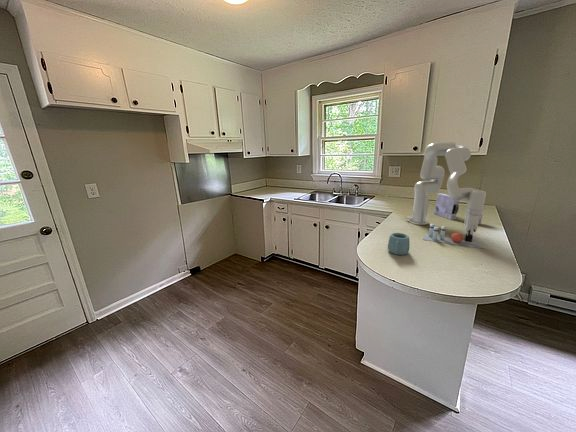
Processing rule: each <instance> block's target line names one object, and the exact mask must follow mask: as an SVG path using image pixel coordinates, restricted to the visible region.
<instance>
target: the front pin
mask: <svg viewBox="0 0 576 432" xmlns="http://www.w3.org/2000/svg"><path fill="white" fill-rule="evenodd" d="M440 228H441V229H440V233H439V237H440V240H444V237H446V236H445V235H446V231H447V226H443V225H442V226H441V227H440Z"/></svg>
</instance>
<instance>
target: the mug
mask: <svg viewBox="0 0 576 432" xmlns="http://www.w3.org/2000/svg"><path fill="white" fill-rule="evenodd" d="M387 250H388V251H389V252H390V253H391V254H394V255H396V256H397V255H398V256H404V255H407V254H409V253H410V252H409V251H410V237H409V235H407V234H405V233H401V232H394V233H393V232H392V233H391V234H390V235H389V237H388V242H387Z"/></svg>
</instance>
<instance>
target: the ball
mask: <svg viewBox="0 0 576 432" xmlns="http://www.w3.org/2000/svg"><path fill="white" fill-rule="evenodd" d="M450 238H451V239H452V241H454V242H457V243H458V242H461V241H462V240H464V235H463V234H461V233H460V232H453V233H452V234H451V235H450Z"/></svg>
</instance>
